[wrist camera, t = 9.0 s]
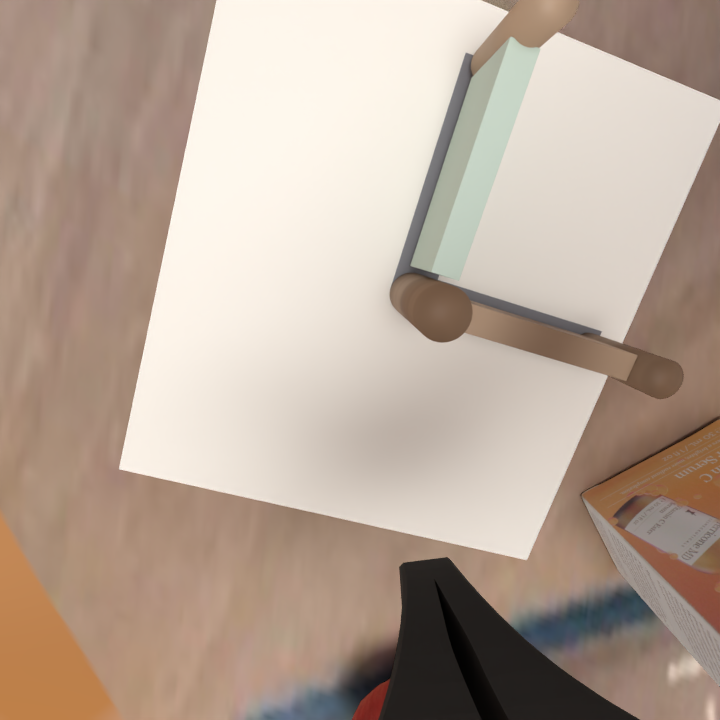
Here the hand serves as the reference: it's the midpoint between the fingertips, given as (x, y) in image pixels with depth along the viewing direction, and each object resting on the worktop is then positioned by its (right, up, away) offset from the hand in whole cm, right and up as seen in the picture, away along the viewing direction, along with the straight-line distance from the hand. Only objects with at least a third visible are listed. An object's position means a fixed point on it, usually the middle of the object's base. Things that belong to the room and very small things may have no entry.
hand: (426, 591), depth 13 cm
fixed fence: (+4, +8, +8) cm, 12 cm away
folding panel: (+2, +14, +6) cm, 15 cm away
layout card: (0, +9, +7) cm, 12 cm away
